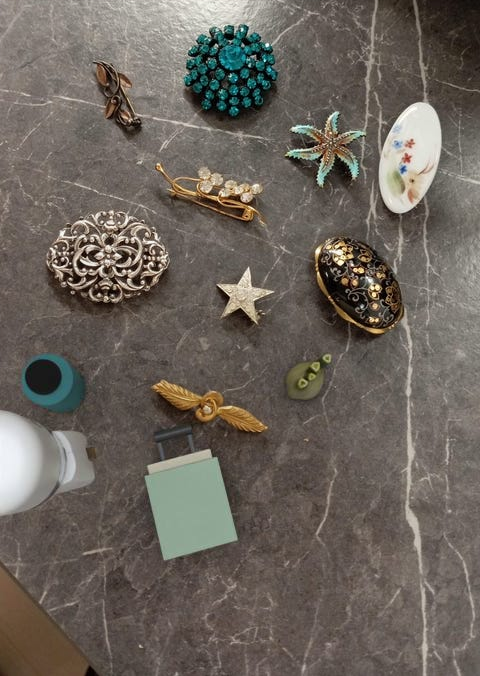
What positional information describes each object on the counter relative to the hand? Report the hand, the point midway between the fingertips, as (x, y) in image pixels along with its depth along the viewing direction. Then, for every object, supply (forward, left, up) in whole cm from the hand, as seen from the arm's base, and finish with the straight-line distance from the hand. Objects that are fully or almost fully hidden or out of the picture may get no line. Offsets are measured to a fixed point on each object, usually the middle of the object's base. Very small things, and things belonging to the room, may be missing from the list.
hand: (50, 468), depth 92 cm
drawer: (+13, -4, -28) cm, 31 cm away
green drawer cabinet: (+13, -8, -29) cm, 33 cm away
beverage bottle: (0, +11, -29) cm, 31 cm away
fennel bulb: (+32, +4, -29) cm, 44 cm away
